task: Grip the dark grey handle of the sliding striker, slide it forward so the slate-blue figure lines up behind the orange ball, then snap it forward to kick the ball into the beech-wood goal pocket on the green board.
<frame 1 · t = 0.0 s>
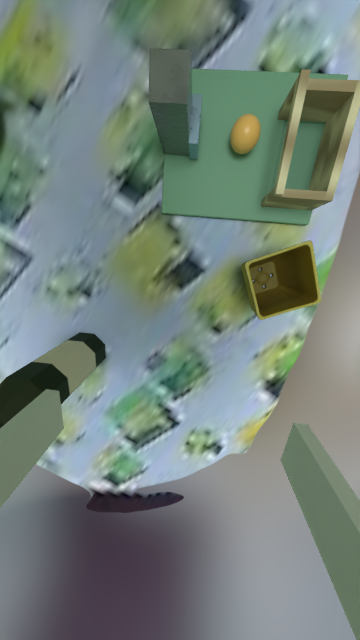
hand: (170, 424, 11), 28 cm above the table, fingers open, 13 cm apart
ball: (245, 134, 26), point 3 cm above the table, touching board
board: (242, 155, 29), on the table
wine bottle: (88, 348, 42), on the table
goal: (293, 166, 29), resting on board
flower pot: (262, 277, 35), on the table
striker: (179, 114, 24), point 6 cm above the table, slide at 0.0 cm
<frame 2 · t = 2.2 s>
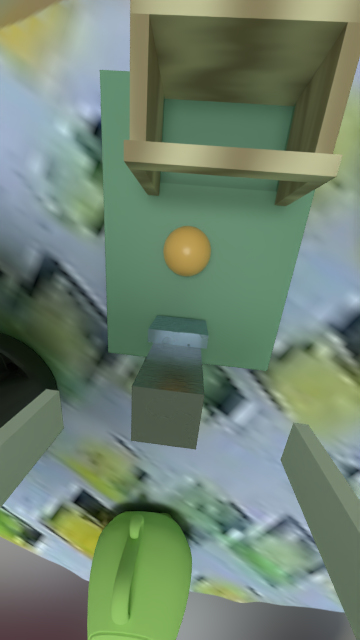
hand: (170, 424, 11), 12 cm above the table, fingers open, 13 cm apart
ball: (187, 252, 16), point 3 cm above the table, touching board
teapot: (149, 530, 33), on the table
board: (198, 249, 19), on the table
goal: (221, 150, 16), resting on board
striker: (174, 364, 16), point 6 cm above the table, slide at 0.0 cm
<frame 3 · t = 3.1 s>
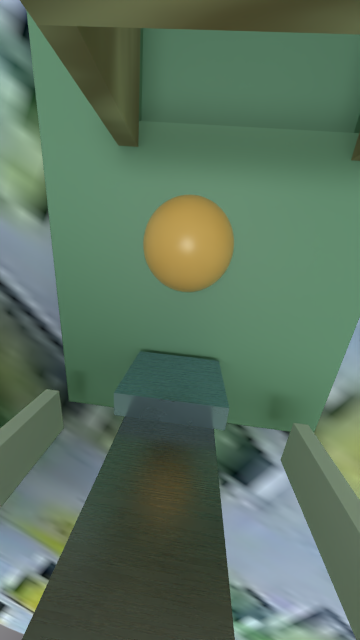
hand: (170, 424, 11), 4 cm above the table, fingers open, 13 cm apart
ball: (188, 247, 9), point 3 cm above the table, touching board
board: (208, 243, 11), on the table
goal: (252, 59, 9), resting on board
striker: (163, 463, 8), point 6 cm above the table, slide at 0.0 cm
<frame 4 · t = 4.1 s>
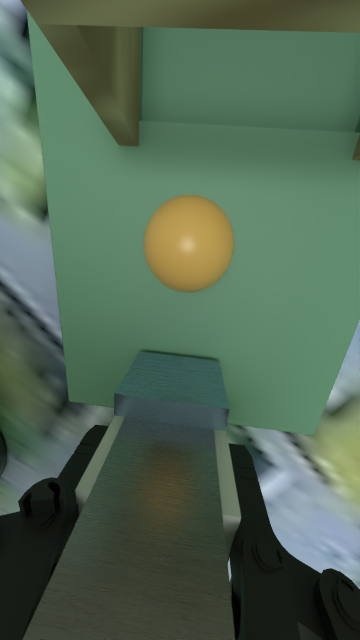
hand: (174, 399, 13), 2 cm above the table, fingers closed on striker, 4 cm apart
ball: (188, 247, 9), point 3 cm above the table, touching board
board: (208, 243, 11), on the table
goal: (253, 59, 9), resting on board
striker: (163, 463, 8), point 6 cm above the table, slide at 0.0 cm, touching gripper
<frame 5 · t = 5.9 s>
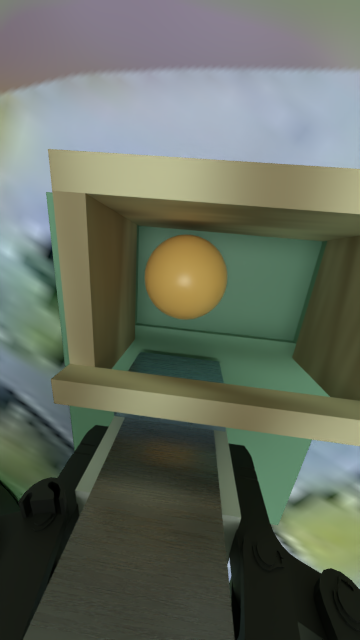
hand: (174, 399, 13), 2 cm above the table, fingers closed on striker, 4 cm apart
ball: (185, 279, 9), point 3 cm above the table, tilted 126°, touching board
board: (190, 388, 14), on the table
goal: (219, 283, 12), resting on board
striker: (163, 464, 8), point 6 cm above the table, slide at 10.2 cm, touching gripper
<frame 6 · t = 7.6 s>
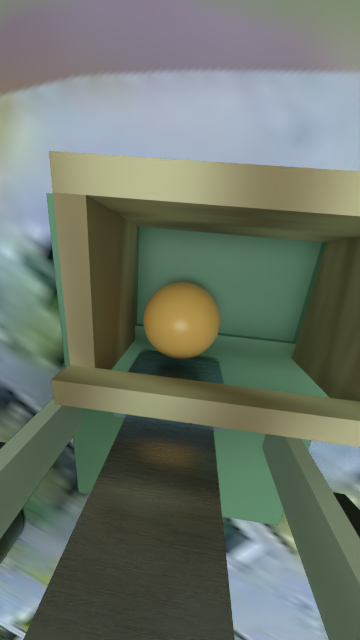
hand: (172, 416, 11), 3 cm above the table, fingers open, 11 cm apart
ball: (181, 320, 10), point 3 cm above the table, tilted 174°, touching board
board: (189, 389, 14), on the table
goal: (219, 284, 12), resting on board
striker: (163, 464, 8), point 6 cm above the table, slide at 10.2 cm
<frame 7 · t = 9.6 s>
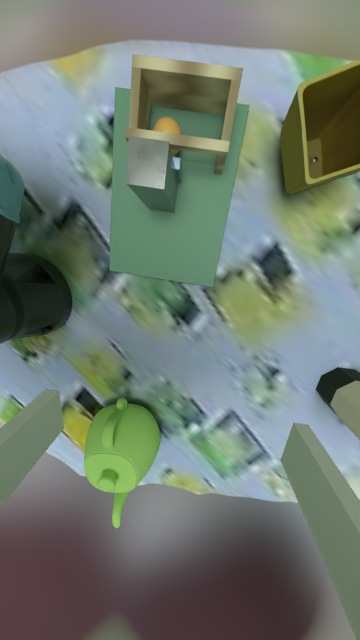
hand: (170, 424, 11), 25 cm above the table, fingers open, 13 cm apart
ball: (167, 138, 25), point 3 cm above the table, tilted 176°, touching board
teapot: (131, 426, 45), on the table
board: (170, 201, 30), on the table
wine bottle: (338, 385, 37), on the table
goal: (184, 139, 27), resting on board
flower pot: (300, 164, 27), on the table
striker: (157, 177, 23), point 6 cm above the table, slide at 10.2 cm
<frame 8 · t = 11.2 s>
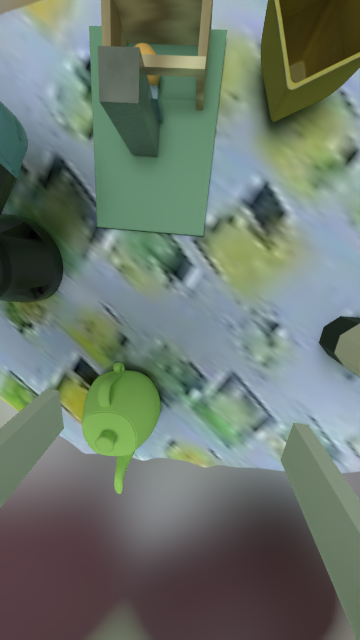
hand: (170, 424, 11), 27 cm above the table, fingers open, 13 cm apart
ball: (144, 70, 25), point 3 cm above the table, tilted 168°, touching board
teapot: (131, 396, 44), on the table
board: (153, 146, 29), on the table
wine bottle: (342, 336, 35), on the table
goal: (163, 77, 27), resting on board
flower pot: (285, 93, 26), on the table
striker: (134, 107, 23), point 6 cm above the table, slide at 10.2 cm
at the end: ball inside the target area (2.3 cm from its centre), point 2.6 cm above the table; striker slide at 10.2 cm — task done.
